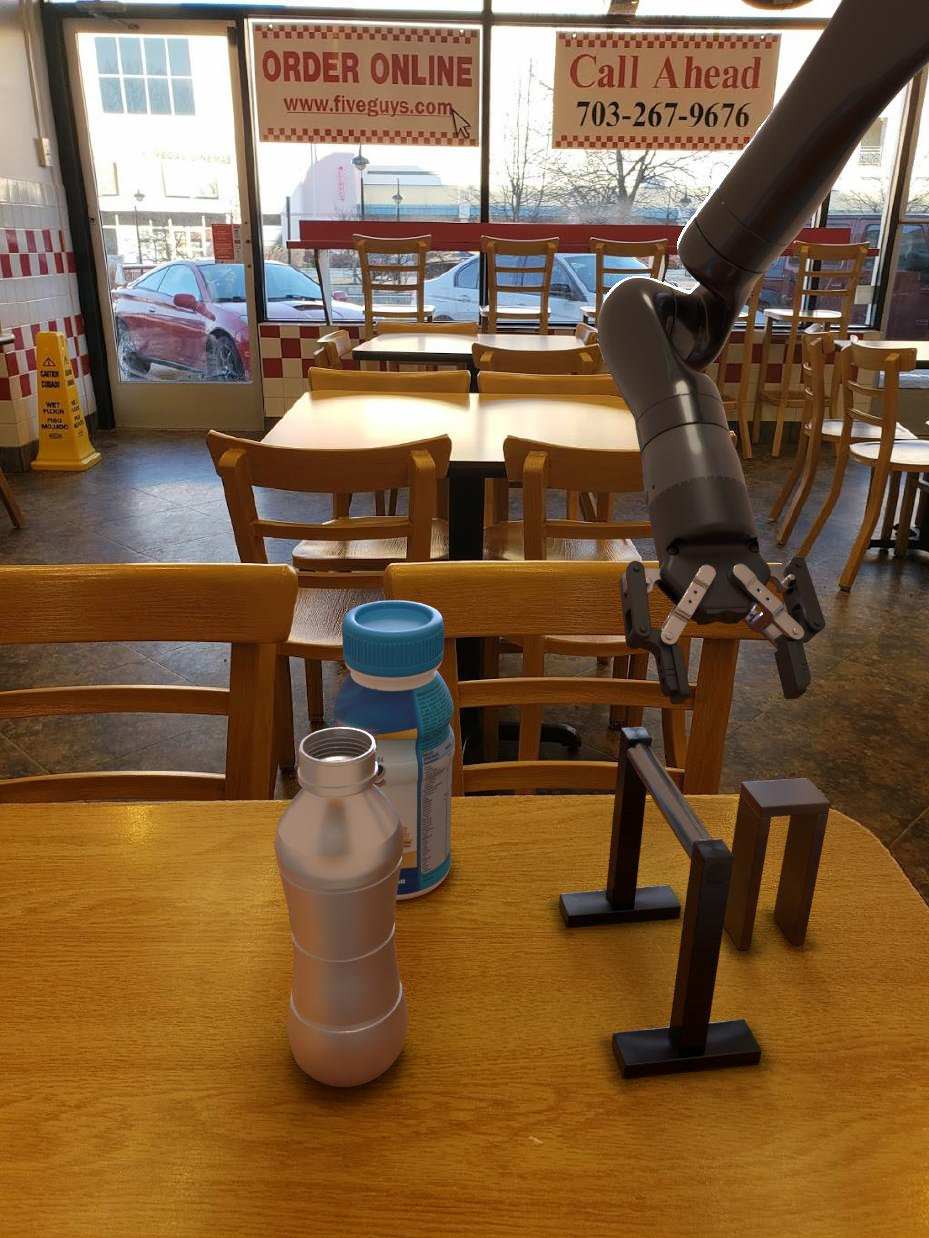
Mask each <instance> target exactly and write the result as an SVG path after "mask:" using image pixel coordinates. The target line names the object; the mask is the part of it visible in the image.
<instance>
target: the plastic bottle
mask: <svg viewBox="0 0 929 1238" xmlns="http://www.w3.org/2000/svg"><path fill="white" fill-rule="evenodd" d="M298 760H299V761H298V762H299V766H298V768H297V782H298V784H299V786H300V787H301V789H300V790H299V791H298V792H297V794H296V795H295V796H294V797H293V798H292V799H291V800H290V802H289V803H288V805H287V807H286V808H285V810H284V811H283V813H282V814H281V816H280V818H279V819H278V822H277V825H276V830H275V833H274V838H273V849H274V854H275V855H274V856H275V861H276V865H277V868H278V870H277V871H278V874H279V878H280V882H281V885H282V889H283V893H284V896H285V901H286V906H287V911H288V918H289V925H290V933H291V934H290V935H291V939H292V947H293V949H292V973H291V975H292V976H291V977H292V978H291V991H290V996H289V1002H288V1009H287V1018H286V1020H287V1021H286V1035H287V1036H286V1037H287V1040H288V1043H289V1046H290V1050H291V1054H292V1056H293V1058H294V1060H295V1063H296V1065H298V1066H299V1068H300V1069H301V1070H302V1071H303V1072H304V1073H305V1074H307V1075H308V1076H309V1077H311V1078H312V1079H314V1080H315V1081H317V1082H319V1083H321V1084H324V1085H326V1086H330V1087H339V1088H350V1087H357V1086H361V1085H363V1084H366V1083H369V1082H372V1081H373V1080H376V1079H377V1078H378V1077H380V1076H382V1074H383V1073H385V1072H386V1071H387V1070H388V1069H389V1068H390V1067H392V1065H393V1064H394V1063H395V1061H396V1060H397V1059H398V1058H399V1056H400V1054H401V1052H402V1051H403V1048H404V1045H405V1040H406V1035H407V1031H408V1026H409V1010H408V1005H407V999H406V995H405V991H404V987H403V983H402V981H401V978H400V970H399V961H398V953H397V946H396V945H397V944H396V937H395V936H396V911H397V910H396V909H397V900H396V895H397V888H398V881H399V875H400V868H401V861H402V854H403V844H404V830H403V827H402V824H401V821H400V819H399V816H398V813H397V811H396V809H395V808H394V806H393V805H392V804H391V802H390V801H389V800H388V799H387V797H386V796H385V795H384V793H383V792H382V791H381V790H380V789H379V788H378V787H377V786H376V785H375V784H374V782H375V781H376V779H377V777H378V765H377V762H376V744H375V740H374V738H373V737H372V736H371V735H370V734H369V733H367V732H365V731H363V730H359V729H355V728H348V727H338V726H335V727H328V728H323V729H319V730H316V731H314V732H312V733H310V734H308V735H306V736H304V737H303V738H302V740H301V742H300V743H299V749H298Z"/></svg>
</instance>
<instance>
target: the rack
mask: <svg viewBox="0 0 929 1238" xmlns="http://www.w3.org/2000/svg"><path fill="white" fill-rule="evenodd" d="M619 735H620V736H619V746H618V758H617V768H616V781H615V790H614V791H615V792H614V802H613V812H612V824H611V833H610V835H611V836H610V844H609V845H610V846H609V855H608V867H607V879H606V887H605V888H606V889H603V890H601V889H600V890H589V891H577V892H564V893H563V892H562V893H559V900H558V906H559V909H560V911H561V914H562V916H563V920H564V922H565V924H566V925H565V926H566V927H567V928H577V927H587V926H588V927H590V926H599V925H611V924H622V923H623V924H625V923H637V922H645V921H646V922H647V921H659V920H669V919H670V920H671V919H679V918H681V913H682V912H681V911H682V905H681V904H680V901H679V900H678V898H677V896H676V894H675V892H674V890H673V889H672V887H671V886H670V884H666V885H665V884H664V885H652V886H639V887H637V886H638V878H639V877H638V875H639V865H640V857H641V850H642V849H641V848H642V847H641V846H642V839H643V829H644V819H645V808H646V800H647V793H649V796H650V797H651V799H652V800H653V802H654V804H655V805H656V807H657V808H658V810H659V812H660V813H661V815H662V816H663V818H664V819H665V821H666V823H667V824H668V826H669V828H670V829H671V831H672V832H673V834H674V836H675V837H676V839H677V841H678V842H679V844H680V845H681V847H682V848H683V849H682V850H684V852H685V853H686V855H687V857H688V859H689V860H690V865H689V872H688V879H687V880H688V881H687V889H686V896H685V904H684V912H683V919H682V926H681V927H682V928H681V933H680V934H681V935H680V941H679V942H680V943H679V951H678V956H677V958H678V959H677V967H676V974H675V981H674V989H673V997H672V1004H671V1012H670V1020H669V1026H664V1027H654V1028H645V1029H636V1030H625V1031H618V1032H617V1031H616V1032H613V1033H612V1039H611V1047H612V1049H613V1053H614V1055H615V1058H616V1060H617V1063H618V1066H619V1069H620V1072H621V1074H622V1077H623V1078H624V1079H632V1078H640V1077H650V1076H651V1077H652V1076H658V1075H667V1074H677V1073H686V1072H696V1071H704V1070H714V1069H723V1068H732V1067H740V1066H741V1067H742V1066H750V1065H751V1066H752V1065H758V1064H760V1063H761V1058H762V1052H763V1050H762V1048H761V1047H760V1045H759V1043H758V1041H757V1039H756V1037H755V1036H754V1034H753V1032H752V1030H751V1028H750V1027H749V1025H748V1023H747V1021H746V1020H745V1019H733V1020H723V1021H713V1022H710V1020H711V1013H712V1008H713V1000H714V994H715V986H716V980H717V973H718V968H719V967H718V966H719V959H720V953H721V946H722V939H723V933H724V928H725V926H724V920H725V913H726V906H727V900H728V893H729V886H730V879H731V873H732V866H733V859H734V856H733V854H732V853H731V851H732V850H730V849H729V847H728V846H727V843H725V841H724V840H723V839H722V838H714V839H713V837H712V835H711V834H710V833H709V831H708V830H707V829H706V827H705V826H704V824H703V822H702V821H701V819H700V817H699V816H698V815H697V813H696V812H695V811H694V809H693V807H692V806H691V805H690V803H689V802H688V800H687V799H686V797H685V796H684V795H683V793H682V791H681V790H680V788H679V787H678V785H677V784H676V782H675V781H674V780H673V778H672V777H671V775H670V773H669V772H668V771H667V769H666V767H665V766H664V765H663V763H662V762H661V760H660V759H659V758H658V756H657V754H656V753H655V752H654V750H653V749H652V742H653V737H652V736H651V735H650V733H649V731H648V730H647V729H646V727H645V726H635V727H621V728H620V734H619Z"/></svg>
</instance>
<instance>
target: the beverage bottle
mask: <svg viewBox="0 0 929 1238" xmlns="http://www.w3.org/2000/svg"><path fill="white" fill-rule="evenodd" d="M342 620H343V621H342V624H341V625H342V626H341V634H342V635H341V636H342V638H341V639H342V657H343V661H344V664H345V667H346V668H347V669H348V671H349V672H348V673H347V675H346V677H345V678H344V680H343V682H342V683H341V686H340V687H339V690H338V692H337V695H336V699H335V702H334V705H333V716H334V719H335V722H336V723H337V725H338V726H337V727H348V728H355V729H359V730H363V731H365V732H367V733H369V734H370V735H371V736H372V737H373V738H374V740H375V744H376V762H377V765H378V777H377V779H376V781H375V782H374V784H375V785H376V786H377V787H378V788H379V789H380V790H381V791H382V792H383V793H384V795H385V796H386V797H387V799H388V800H389V801H390V802H391V804H392V805H393V806H394V808H395V809H396V811H397V813H398V816H399V819H400V821H401V824H402V827H403V830H404V844H403V854H402V861H401V868H400V875H399V881H398V888H397V895H396V901H403V900H410V899H414V898H417V897H420V896H423V895H425V894H427V893H429V892H431V891H433V890H434V889H436V888H438V886H439V885H441V884H442V883H443V882H444V881H445V880H446V878H447V876H448V874H449V873H450V869H451V864H452V848H451V837H452V835H451V828H452V826H451V825H452V793H453V791H452V788H453V787H452V785H453V758H454V757H455V753H456V752H455V751H456V738H455V733H454V730H453V728H452V726H451V725H450V724H451V721H452V719H453V716H454V710H455V709H454V701H453V699H452V695H451V692H450V689H449V687H448V686H447V685H448V684H447V683H446V682H445V680H444V679H443V676H442V675H441V674H440V672H439V671H438V669H439V668H440V666H441V664H442V663H443V660H444V653H445V652H444V651H445V648H444V647H445V624H444V619H443V615H442V614H441V613H440V611H438V609H436V608H434V607H432V606H430V605H427V604H424V603H421V602H416V601H411V600H410V601H409V600H396V599H395V600H379V601H372V602H368V603H363V604H361V605H358V606H355V607H353V608H352V609H350V610H349V611H347V612H346V614H345V615H344V617H343V619H342Z"/></svg>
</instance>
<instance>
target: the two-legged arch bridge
mask: <svg viewBox="0 0 929 1238" xmlns="http://www.w3.org/2000/svg"><path fill="white" fill-rule="evenodd" d="M740 784H741V785H740V790H739V792H740V793H739V797H738V804H737V812H736V819H735V825H734V832H733V839H732V844H731V845H732V846H731V850H730V851H731V853H732V854H733V856H734V859H733V866H732V873H731V879H730V886H729V893H728V900H727V906H726V913H725V920H724V928H725V929H726V931H727V933H728V934H729V936H730V938H731V939H732V941H733V942H734V944H735V946H736V947H737V949H738V951H745V950H747V951H748V950H751V947H752V940H753V934H754V928H755V921H756V917H757V916H756V914H757V910H758V904H759V896H760V890H761V885H762V878H763V872H764V866H765V860H766V854H767V848H768V842H769V836H770V830H771V823H772V818H776V817H777V818H779V817H789V822H788V827H787V834H786V840H785V846H784V851H783V857H782V863H781V869H780V873H779V874H780V875H779V880H778V887H777V892H776V897H775V905H774V910H773V915H772V916H773V918H774V920H775V921H776V923H777V924H778V926H779V927H780V928H781V930H782V931H783V933H784V934H785V935H786V937H787V939H788V940H789V941H790V943H791V944H792V946H801V945H805V943H806V937H807V931H808V926H809V921H810V916H811V909H812V904H813V899H814V894H815V889H816V884H817V878H818V873H819V867H820V863H821V858H822V857H821V856H822V853H823V846H824V842H825V835H826V831H827V825H828V819H829V813H830V809H831V801H830V800H829V799H828V798H827V797H826V796H825V794H824V793H822V792H821V790H820V789H818V787H817V786H816V785H815V784H814V783H813V782H812V781H811V780H810V779H809V778H808V777H804V778H803V777H801V778H788V779H787V778H786V779H774V780H773V779H772V780H771V779H770V780H756V781H755V780H754V781H742V782H741V783H740Z"/></svg>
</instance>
